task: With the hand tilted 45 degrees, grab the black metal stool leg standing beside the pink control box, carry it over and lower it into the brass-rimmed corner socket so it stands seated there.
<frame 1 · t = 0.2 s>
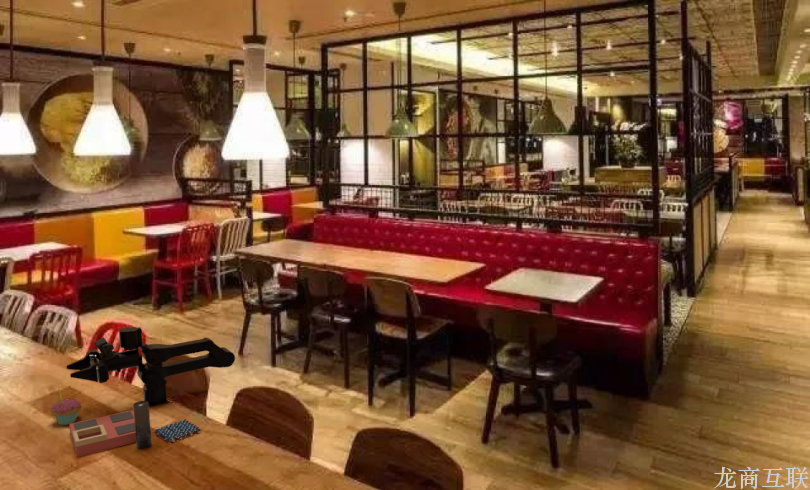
hand: (68, 371, 192), 17 cm above the table, tool horizontal, fingers open, 9 cm apart
woven mat: (177, 435, 185), on the table
cupcake: (67, 422, 194), on the table
stool leg: (144, 446, 177), on the table
pink control box: (107, 436, 183), on the table
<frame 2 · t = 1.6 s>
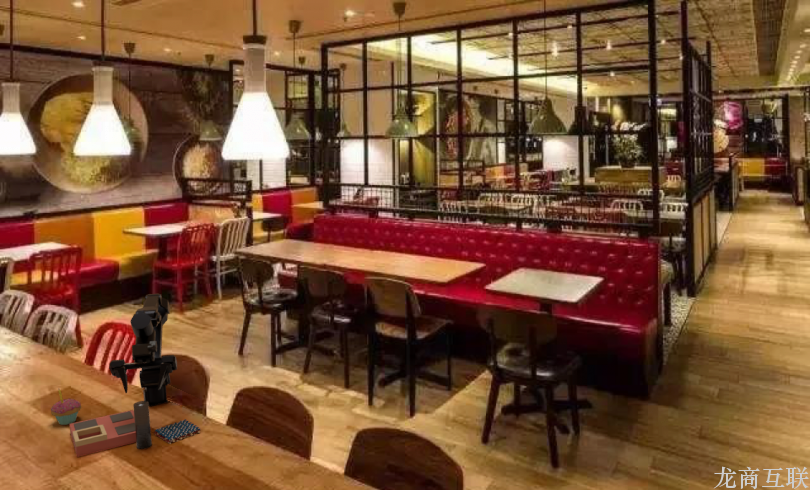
hand: (142, 390, 182), 14 cm above the table, tool tilted 45°, fingers open, 9 cm apart
nothing on the table moved.
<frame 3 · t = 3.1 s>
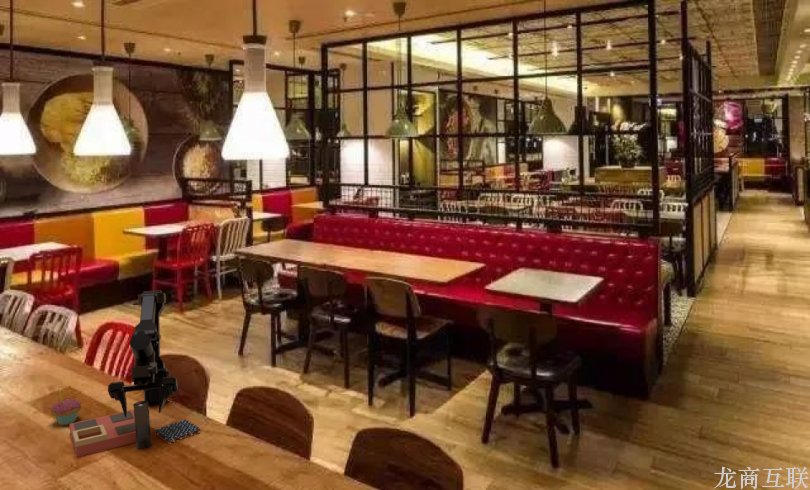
hand: (142, 414, 177), 9 cm above the table, tool tilted 45°, fingers open, 9 cm apart
nothing on the table moved.
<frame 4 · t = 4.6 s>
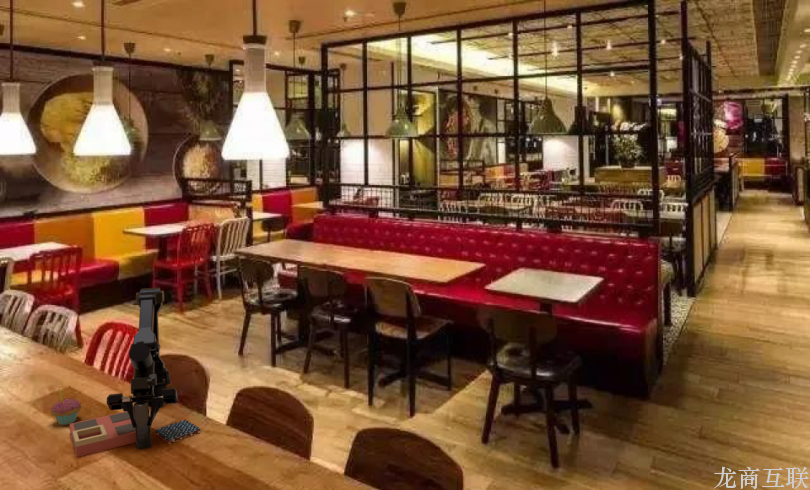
hand: (141, 426, 175), 7 cm above the table, tool tilted 45°, fingers closed on stool leg, 4 cm apart
stool leg: (144, 446, 177), on the table, touching gripper
everything else where it was.
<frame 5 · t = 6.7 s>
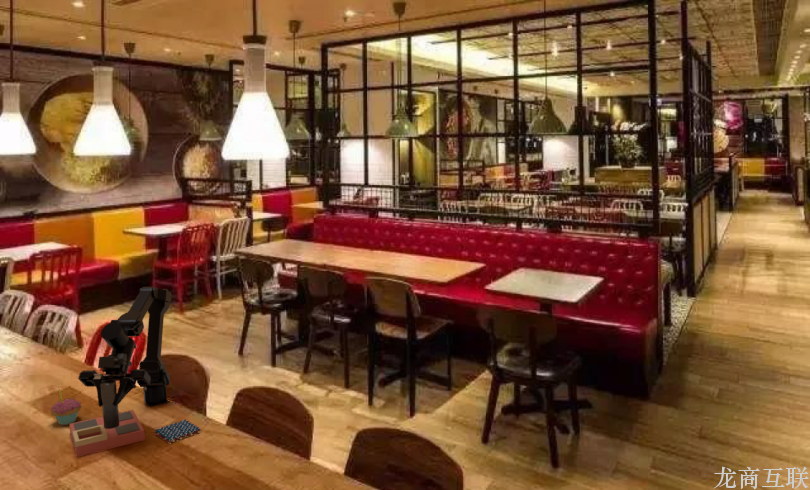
hand: (107, 405, 172), 13 cm above the table, tool tilted 45°, fingers closed on stool leg, 4 cm apart
stool leg: (111, 425, 175), point 7 cm above the table, touching gripper
everything else where it was.
when the fingers open (8 cm above the table, at t = 9.0 s): stool leg drops 1 cm, resting in pink control box.
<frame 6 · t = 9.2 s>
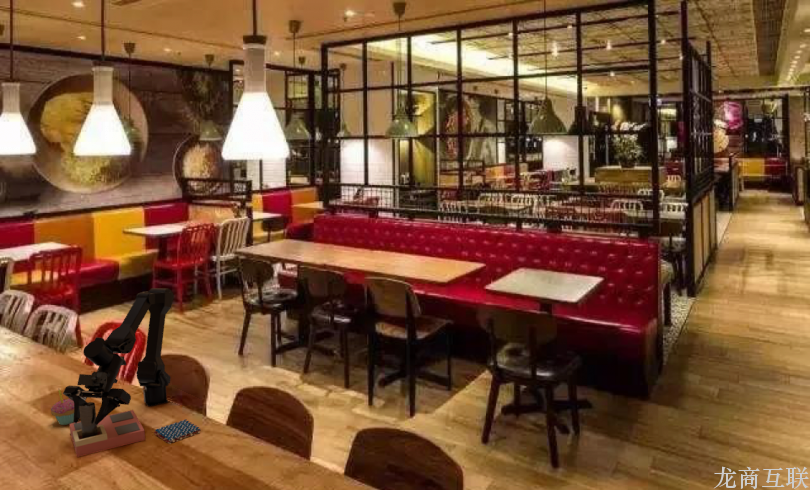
hand: (85, 423, 174), 8 cm above the table, tool tilted 45°, fingers open, 6 cm apart
stool leg: (91, 447, 176), resting in pink control box
everything else where it was.
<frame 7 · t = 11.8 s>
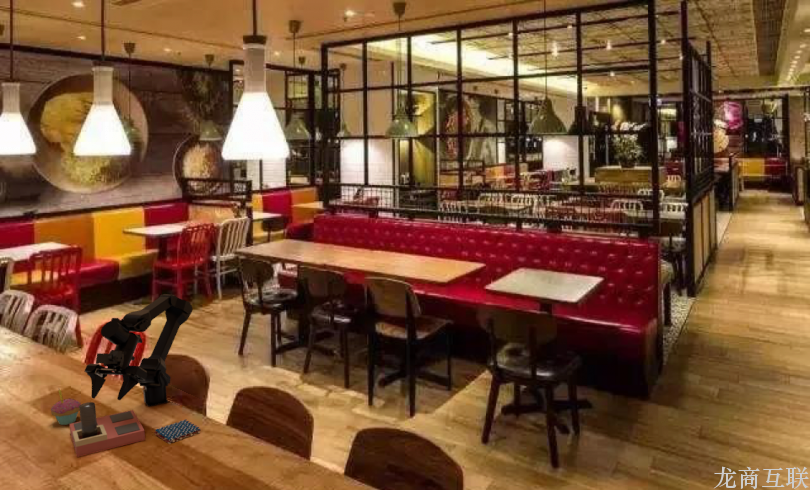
hand: (105, 399, 184), 11 cm above the table, tool tilted 40°, fingers open, 9 cm apart
nothing on the table moved.
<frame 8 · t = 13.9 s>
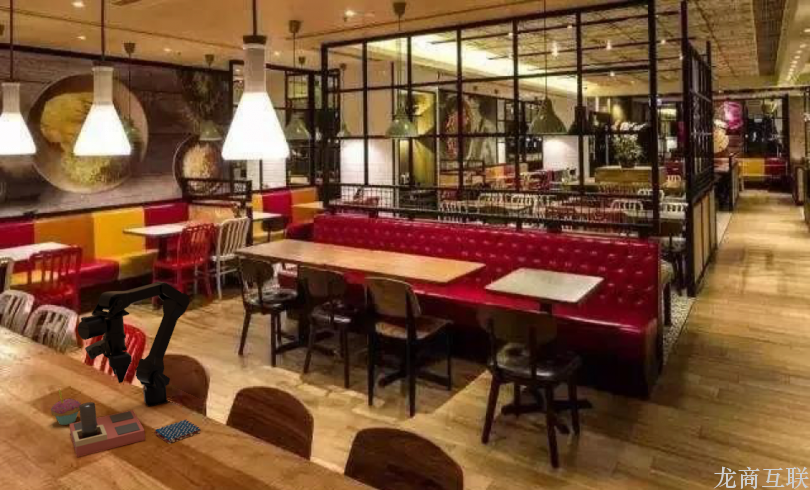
hand: (118, 378, 195), 13 cm above the table, tool pointing down, fingers open, 9 cm apart
nothing on the table moved.
at the end: stool leg 0.0 cm from the target spot on the pink control box, point 0.0 cm above the pink control box's base; stool leg tilted 0°; the gripper is holding nothing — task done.
